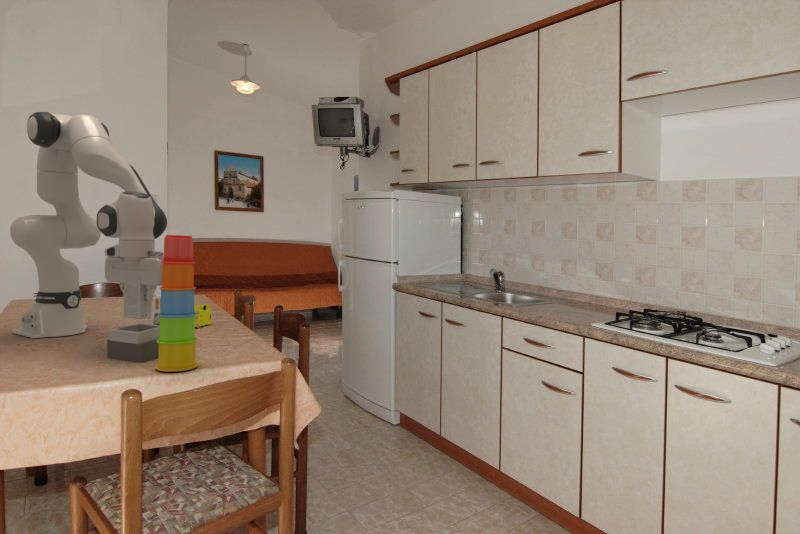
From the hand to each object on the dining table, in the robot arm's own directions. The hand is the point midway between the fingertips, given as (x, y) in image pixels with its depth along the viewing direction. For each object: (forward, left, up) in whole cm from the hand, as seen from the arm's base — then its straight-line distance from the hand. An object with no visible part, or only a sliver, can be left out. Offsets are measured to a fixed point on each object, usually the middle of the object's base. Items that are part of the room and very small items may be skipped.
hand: (138, 300), depth 141 cm
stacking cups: (+18, -5, -16) cm, 25 cm away
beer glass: (-4, +12, -16) cm, 20 cm away
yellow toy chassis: (-14, +36, -16) cm, 42 cm away
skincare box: (0, 0, -5) cm, 5 cm away
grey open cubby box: (0, 0, -16) cm, 16 cm away
